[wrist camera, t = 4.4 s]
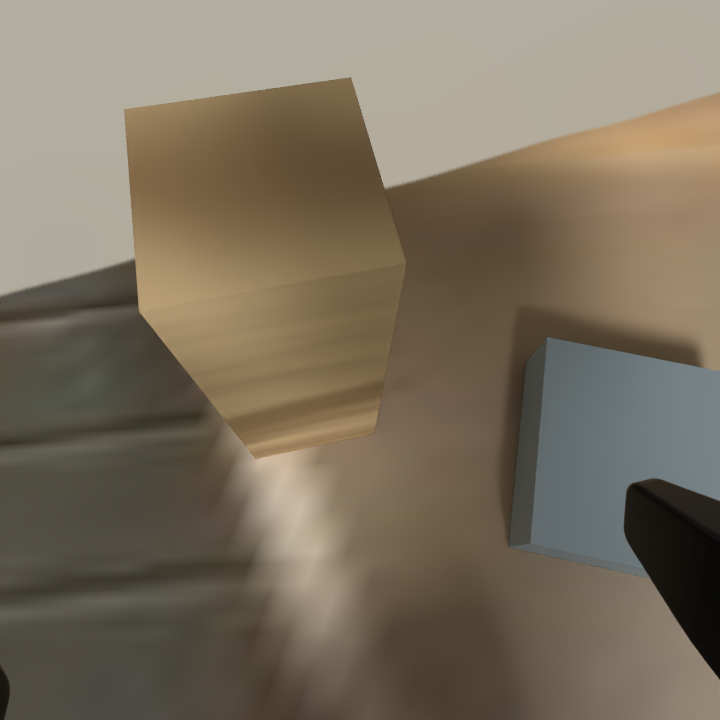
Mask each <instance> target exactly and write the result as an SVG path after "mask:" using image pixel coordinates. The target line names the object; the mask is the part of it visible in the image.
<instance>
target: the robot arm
mask: <svg viewBox="0 0 720 720" xmlns="http://www.w3.org/2000/svg"><path fill="white" fill-rule="evenodd" d="M623 527H624V534H625V537H626V540H627V542H628V544H629V546H630V547H631V549H632V550H633V552H634V554H635V555H636V557H637V558H638V560H639V561H640V563H641V565H642V566H643V568H644V569H645V571H646V572H647V574H648V576H649V577H650V579H651V580H652V582H653V583H654V585H655V587H656V588H657V590H658V591H659V593H660V595H661V596H662V598H663V599H664V601H665V602H666V604H667V606H668V607H669V609H670V610H671V612H672V613H673V615H674V617H675V618H676V620H677V621H678V623H679V624H680V626H681V627H682V629H683V630H684V632H685V633H686V635H687V636H688V638H689V639H690V641H691V642H692V644H693V645H694V646H695V648H696V649H697V650H698V652H699V653H700V654H701V656H702V657H703V658H704V660H705V661H706V662H707V664H708V665H709V666H710V668H711V669H712V670H713V671H714V673H715V674H716V675H717V677H718V678H719V679H720V501H719V500H716V499H714V498H711V497H708V496H705V495H703V494H700V493H697V492H694V491H692V490H689V489H686V488H684V487H681V486H678V485H675V484H673V483H670V482H667V481H665V480H662V479H658V478H651V479H647V480H643V481H638V482H634V483H632V484H630V485H629V486H628V488H627V490H626V499H625V512H624V525H623ZM9 696H10V685H9V680H8V678H7V675H6V674H5V672H4V670H3V669H2V667H1V665H0V720H4V718H5V714H6V710H7V706H8V702H9Z"/></svg>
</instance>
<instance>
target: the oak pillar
mask: <svg viewBox="0 0 720 720" xmlns="http://www.w3.org/2000/svg"><path fill="white" fill-rule="evenodd" d="M124 113H125V126H126V139H127V153H128V166H129V180H130V194H131V207H132V221H133V235H134V247H135V262H136V275H137V289H138V302H139V312H140V313H141V314H142V316H143V317H144V318H145V319H146V321H147V322H148V323H149V325H150V326H151V327H152V328H153V330H154V331H155V332H156V333H157V335H158V336H159V337H160V338H161V340H162V341H163V342H164V343H165V345H166V346H167V347H168V349H169V350H170V351H171V352H172V354H173V355H174V356H175V357H176V359H177V360H178V361H179V362H180V364H181V365H182V366H183V368H184V369H185V370H186V371H187V373H188V374H189V375H190V376H191V378H192V379H193V380H194V381H195V383H196V384H197V385H198V386H199V388H200V389H201V390H202V392H203V393H204V394H205V395H206V397H207V398H208V399H209V400H210V402H211V403H212V404H213V405H214V407H215V408H216V409H217V411H218V412H219V413H220V414H221V416H222V417H223V418H224V419H225V421H226V422H227V423H228V424H229V426H230V427H231V428H232V429H233V431H234V432H235V433H236V435H237V436H238V437H239V438H240V440H241V441H242V442H243V443H244V445H245V446H246V447H247V448H248V450H249V451H250V452H251V454H252V455H253V456H254V457H255V459H257V458H262V457H266V456H271V455H276V454H280V453H285V452H290V451H294V450H299V449H304V448H308V447H313V446H318V445H322V444H327V443H332V442H336V441H341V440H346V439H350V438H355V437H360V436H364V435H369V434H374V431H375V426H376V421H377V416H378V410H379V405H380V400H381V395H382V389H383V384H384V379H385V374H386V369H387V363H388V358H389V353H390V348H391V342H392V337H393V332H394V327H395V321H396V316H397V311H398V306H399V301H400V295H401V290H402V285H403V280H404V274H405V269H406V264H407V263H406V259H405V256H404V253H403V249H402V246H401V243H400V239H399V236H398V233H397V229H396V226H395V223H394V219H393V216H392V213H391V209H390V206H389V203H388V199H387V196H386V193H385V189H384V186H383V183H382V179H381V176H380V173H379V170H378V166H377V163H376V160H375V156H374V153H373V150H372V146H371V143H370V139H369V136H368V133H367V130H366V127H365V123H364V119H363V116H362V113H361V109H360V106H359V103H358V99H357V96H356V93H355V89H354V86H353V83H352V80H351V78H344V79H337V80H330V81H323V82H316V83H309V84H302V85H294V86H288V87H281V88H273V89H266V90H259V91H252V92H245V93H238V94H231V95H224V96H217V97H209V98H203V99H195V100H188V101H181V102H174V103H167V104H160V105H153V106H146V107H139V108H132V109H125V110H124Z"/></svg>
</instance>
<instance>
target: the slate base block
mask: <svg viewBox="0 0 720 720" xmlns="http://www.w3.org/2000/svg"><path fill="white" fill-rule="evenodd" d="M651 478H658V479H662V480H665V481H667V482H670V483H673V484H675V485H678V486H681V487H684V488H686V489H689V490H692V491H694V492H697V493H700V494H703V495H705V496H708V497H711V498H714V499H716V500H719V501H720V371H716V370H711V369H706V368H701V367H696V366H691V365H686V364H681V363H676V362H671V361H666V360H661V359H656V358H651V357H646V356H640V355H635V354H630V353H625V352H620V351H615V350H610V349H605V348H600V347H595V346H590V345H585V344H580V343H575V342H570V341H565V340H560V339H555V338H550V337H547V338H546V339H545V340H544V341H543V343H542V344H541V345H540V346H539V347H538V349H537V350H536V351H535V352H534V353H533V354H532V356H531V357H530V358H529V359H528V360H527V361H526V370H525V380H524V391H523V401H522V412H521V422H520V432H519V443H518V453H517V463H516V474H515V484H514V494H513V505H512V515H511V525H510V536H509V546H508V547H510V548H515V549H519V550H524V551H528V552H533V553H537V554H542V555H546V556H551V557H555V558H560V559H564V560H569V561H573V562H578V563H582V564H587V565H591V566H596V567H600V568H605V569H609V570H614V571H618V572H623V573H627V574H632V575H636V576H641V577H646V578H650V577H649V576H648V574H647V572H646V571H645V569H644V568H643V566H642V565H641V563H640V561H639V560H638V558H637V557H636V555H635V554H634V552H633V550H632V549H631V547H630V546H629V544H628V542H627V540H626V537H625V534H624V527H623V525H624V512H625V499H626V490H627V488H628V486H629V485H630V484H632V483H634V482H638V481H643V480H647V479H651Z"/></svg>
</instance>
